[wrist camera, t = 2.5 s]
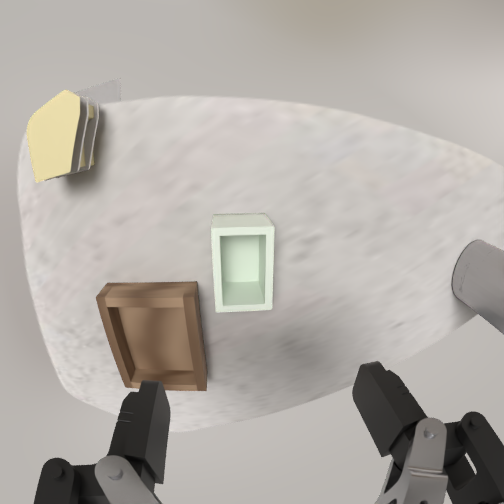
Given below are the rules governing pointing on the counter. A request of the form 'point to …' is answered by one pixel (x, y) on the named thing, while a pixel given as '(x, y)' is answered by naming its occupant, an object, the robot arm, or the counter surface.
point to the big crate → (155, 333)
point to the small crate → (242, 261)
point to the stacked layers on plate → (68, 130)
